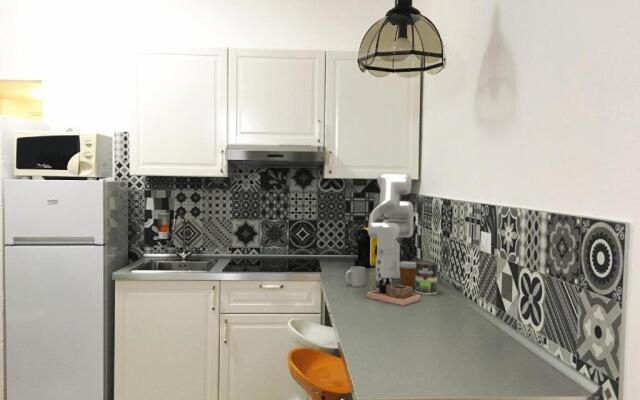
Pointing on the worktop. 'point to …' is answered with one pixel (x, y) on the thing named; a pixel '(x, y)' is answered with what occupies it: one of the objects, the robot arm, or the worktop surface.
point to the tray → (384, 298)
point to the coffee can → (426, 277)
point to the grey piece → (377, 285)
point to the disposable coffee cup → (407, 273)
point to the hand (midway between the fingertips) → (384, 292)
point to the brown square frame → (399, 291)
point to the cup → (356, 276)
